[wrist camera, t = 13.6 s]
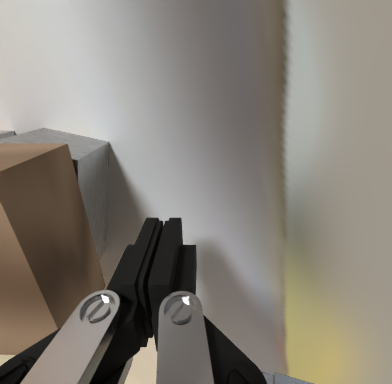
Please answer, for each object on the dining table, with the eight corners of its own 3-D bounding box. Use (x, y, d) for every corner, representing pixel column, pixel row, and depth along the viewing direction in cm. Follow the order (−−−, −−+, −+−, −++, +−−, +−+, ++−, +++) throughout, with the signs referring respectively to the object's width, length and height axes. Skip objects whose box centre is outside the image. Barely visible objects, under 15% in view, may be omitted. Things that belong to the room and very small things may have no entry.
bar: (46, 127, 14) (-10, 141, 10) (110, 141, 14) (77, 160, 10) (56, 239, 18) (17, 279, 14) (105, 248, 18) (81, 289, 14)
